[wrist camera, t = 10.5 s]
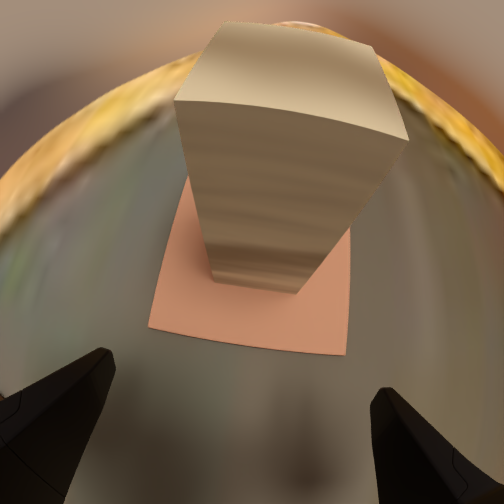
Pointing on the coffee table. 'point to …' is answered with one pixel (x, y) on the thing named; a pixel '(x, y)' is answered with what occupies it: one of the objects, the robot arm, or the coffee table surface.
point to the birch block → (283, 148)
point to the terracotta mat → (248, 298)
